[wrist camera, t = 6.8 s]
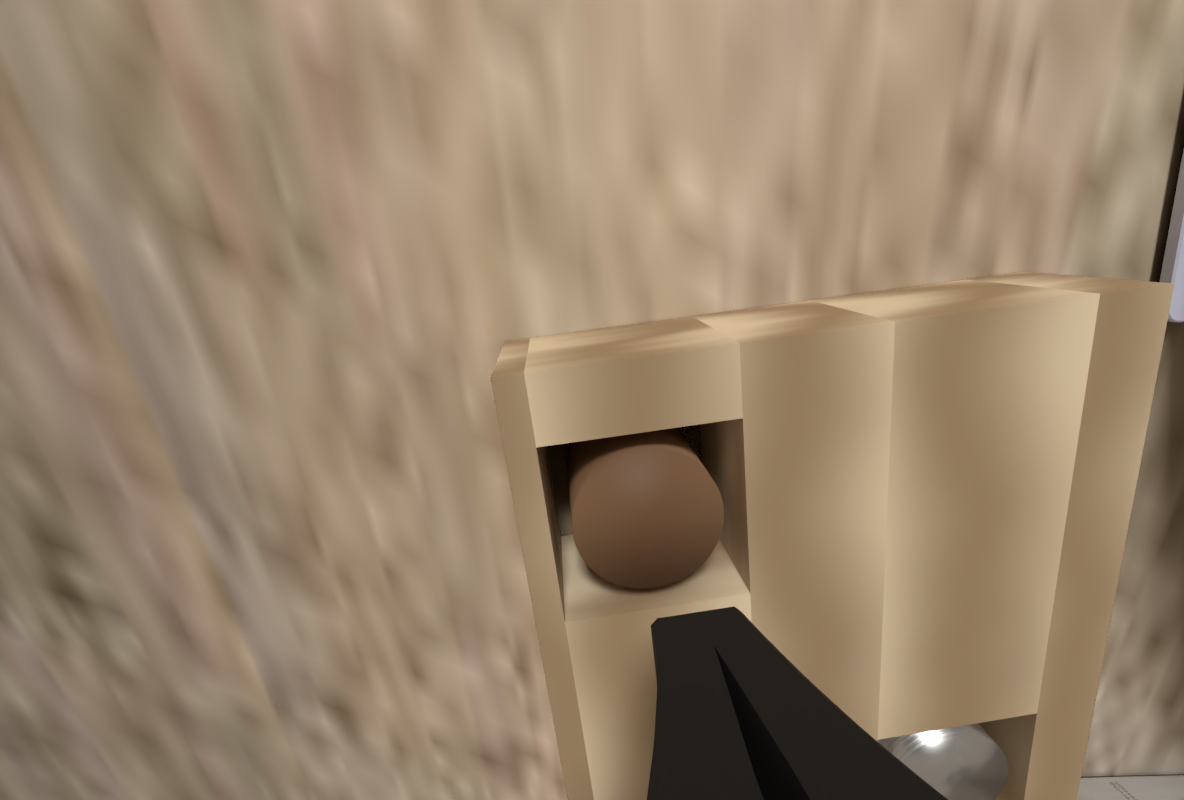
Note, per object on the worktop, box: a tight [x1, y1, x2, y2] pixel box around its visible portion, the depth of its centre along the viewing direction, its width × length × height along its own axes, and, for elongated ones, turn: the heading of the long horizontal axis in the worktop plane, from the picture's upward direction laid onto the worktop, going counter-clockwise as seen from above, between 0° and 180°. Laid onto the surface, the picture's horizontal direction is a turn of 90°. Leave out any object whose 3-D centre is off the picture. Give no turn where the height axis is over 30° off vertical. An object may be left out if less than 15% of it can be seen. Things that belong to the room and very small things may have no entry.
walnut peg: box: [567, 428, 724, 588], centre depth 15 cm, size 4×4×4 cm
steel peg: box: [878, 723, 1008, 800], centre depth 18 cm, size 4×4×4 cm
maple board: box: [491, 272, 1174, 800], centre depth 16 cm, size 15×18×4 cm
